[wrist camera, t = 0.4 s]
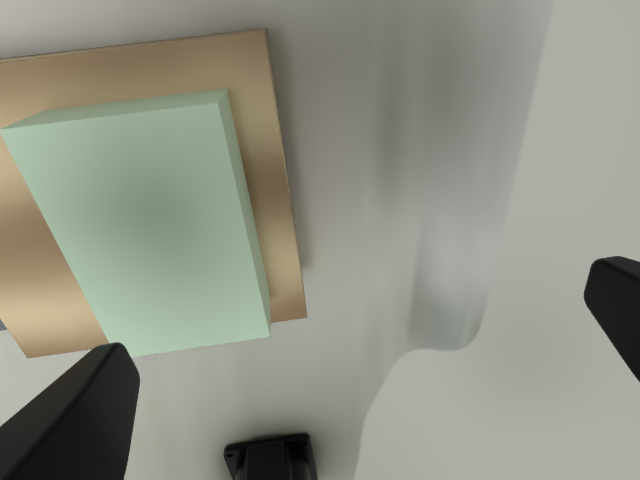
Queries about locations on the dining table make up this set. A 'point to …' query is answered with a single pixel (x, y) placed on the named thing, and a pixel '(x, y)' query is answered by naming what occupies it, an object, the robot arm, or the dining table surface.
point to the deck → (127, 84)
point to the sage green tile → (151, 217)
